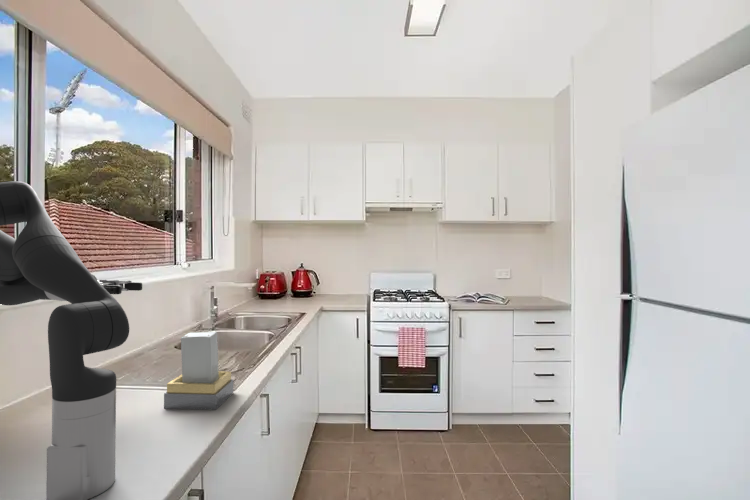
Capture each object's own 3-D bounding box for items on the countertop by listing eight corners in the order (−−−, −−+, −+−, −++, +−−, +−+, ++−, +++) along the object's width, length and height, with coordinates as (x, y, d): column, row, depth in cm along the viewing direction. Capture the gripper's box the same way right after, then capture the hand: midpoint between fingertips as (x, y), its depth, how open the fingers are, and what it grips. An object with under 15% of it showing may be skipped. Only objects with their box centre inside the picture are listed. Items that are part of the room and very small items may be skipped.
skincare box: (219, 382, 113) (219, 331, 113) (211, 390, 107) (211, 336, 107) (189, 382, 113) (190, 331, 113) (179, 390, 107) (180, 335, 106)
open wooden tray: (215, 409, 104) (216, 385, 104) (163, 408, 104) (164, 384, 104) (237, 389, 119) (237, 367, 119) (191, 388, 119) (191, 366, 119)
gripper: (49, 274, 97) (113, 276, 97) (91, 271, 111) (147, 272, 111) (48, 304, 97) (112, 306, 97) (91, 297, 112) (147, 298, 111)
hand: (131, 288), depth 104 cm, fingers open, 8 cm apart
